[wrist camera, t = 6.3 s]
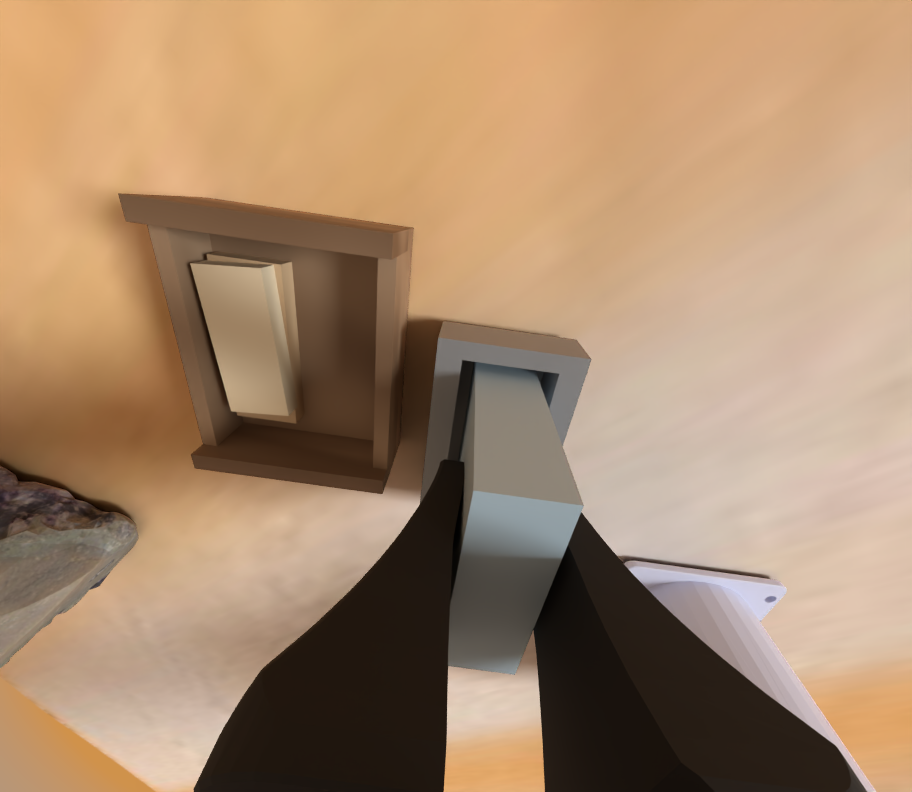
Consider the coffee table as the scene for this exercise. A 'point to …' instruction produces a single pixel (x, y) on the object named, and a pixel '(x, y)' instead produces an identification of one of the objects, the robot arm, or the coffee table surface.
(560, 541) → the pale blue flat block
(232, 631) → the coffee table surface
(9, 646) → the mineral rock
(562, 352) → the stand
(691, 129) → the coffee table surface
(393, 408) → the frame
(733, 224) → the coffee table surface
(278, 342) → the block
